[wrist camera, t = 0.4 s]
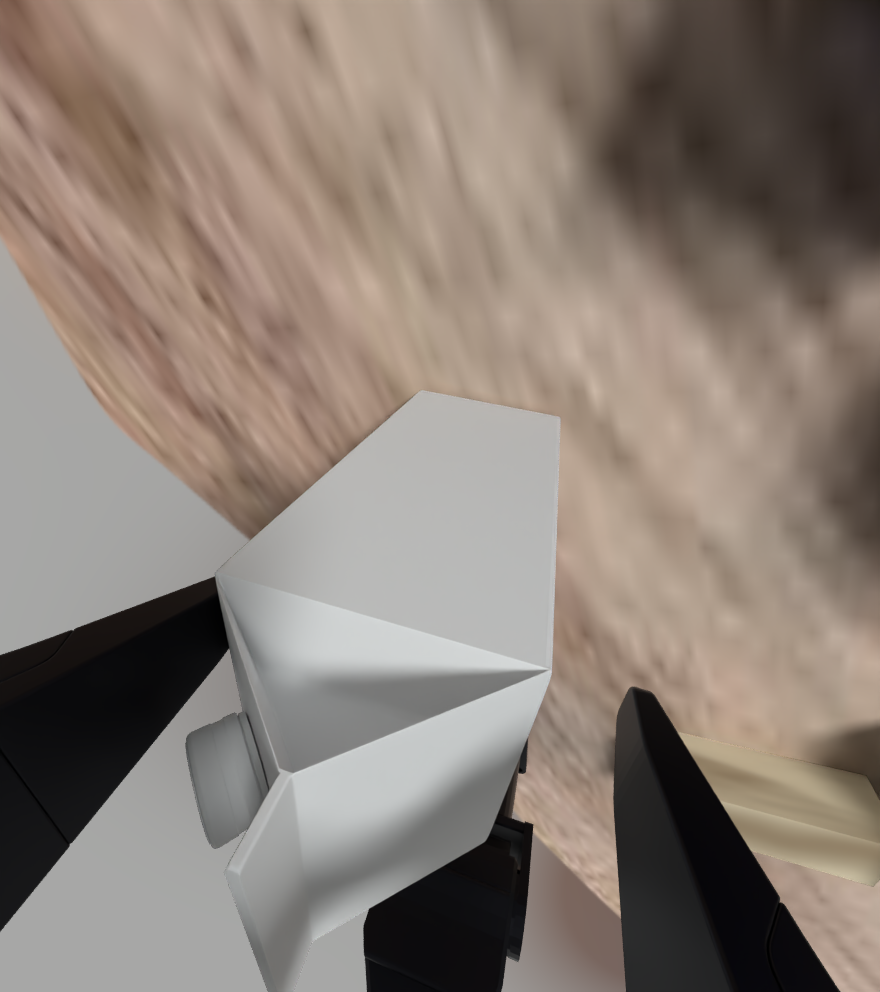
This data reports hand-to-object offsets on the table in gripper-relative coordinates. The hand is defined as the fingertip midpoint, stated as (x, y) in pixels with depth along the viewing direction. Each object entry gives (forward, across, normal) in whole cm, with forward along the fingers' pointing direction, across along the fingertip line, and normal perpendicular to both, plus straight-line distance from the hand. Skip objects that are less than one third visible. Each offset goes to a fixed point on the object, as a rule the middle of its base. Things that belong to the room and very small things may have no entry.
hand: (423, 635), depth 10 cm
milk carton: (+14, +2, +2) cm, 14 cm away
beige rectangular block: (+14, -18, +19) cm, 30 cm away
